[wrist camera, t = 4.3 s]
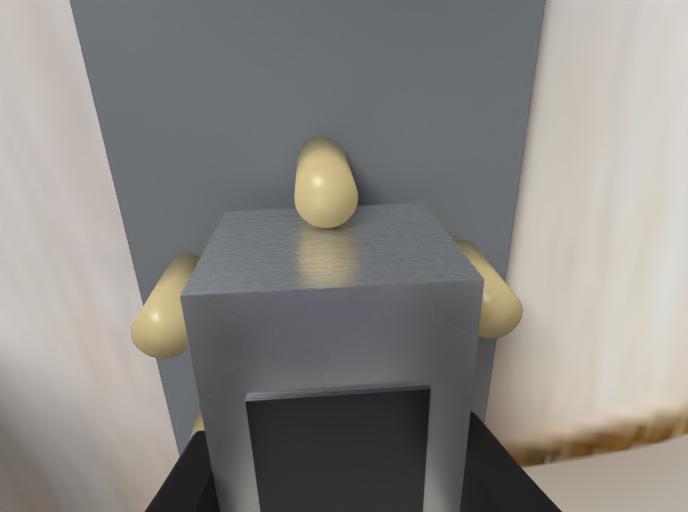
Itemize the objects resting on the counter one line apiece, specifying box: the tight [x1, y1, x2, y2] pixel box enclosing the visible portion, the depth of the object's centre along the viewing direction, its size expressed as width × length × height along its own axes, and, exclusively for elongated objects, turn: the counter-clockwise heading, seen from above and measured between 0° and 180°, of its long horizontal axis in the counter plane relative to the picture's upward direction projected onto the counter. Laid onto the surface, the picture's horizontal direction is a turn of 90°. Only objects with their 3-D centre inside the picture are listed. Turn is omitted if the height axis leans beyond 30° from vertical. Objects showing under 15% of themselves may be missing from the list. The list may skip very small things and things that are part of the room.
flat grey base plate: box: [70, 0, 545, 456], centre depth 11 cm, size 21×10×4 cm, turn 1°
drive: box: [180, 203, 484, 512], centre depth 10 cm, size 8×4×4 cm, turn 1°
